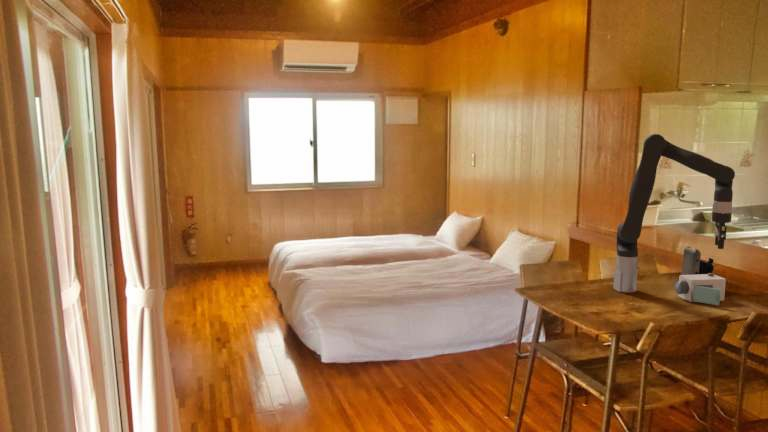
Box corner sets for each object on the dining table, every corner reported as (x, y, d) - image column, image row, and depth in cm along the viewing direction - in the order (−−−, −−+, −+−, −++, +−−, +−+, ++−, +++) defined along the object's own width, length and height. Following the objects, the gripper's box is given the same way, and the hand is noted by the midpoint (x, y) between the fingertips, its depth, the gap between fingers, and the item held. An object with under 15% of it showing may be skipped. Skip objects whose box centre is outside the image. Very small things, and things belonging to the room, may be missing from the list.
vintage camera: (722, 291, 266) (726, 250, 263) (689, 290, 266) (693, 249, 264) (710, 286, 276) (715, 246, 273) (679, 285, 276) (683, 246, 273)
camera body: (683, 302, 248) (685, 278, 247) (671, 296, 258) (672, 273, 256) (724, 300, 250) (726, 276, 248) (710, 294, 259) (712, 271, 257)
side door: (690, 301, 247) (691, 285, 246) (691, 300, 249) (692, 284, 248) (718, 306, 240) (720, 290, 239) (719, 305, 242) (721, 289, 241)
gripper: (710, 208, 255) (707, 243, 258) (714, 212, 242) (711, 249, 245) (729, 209, 252) (726, 244, 255) (734, 213, 239) (731, 250, 242)
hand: (719, 246), depth 250 cm, fingers open, 8 cm apart
